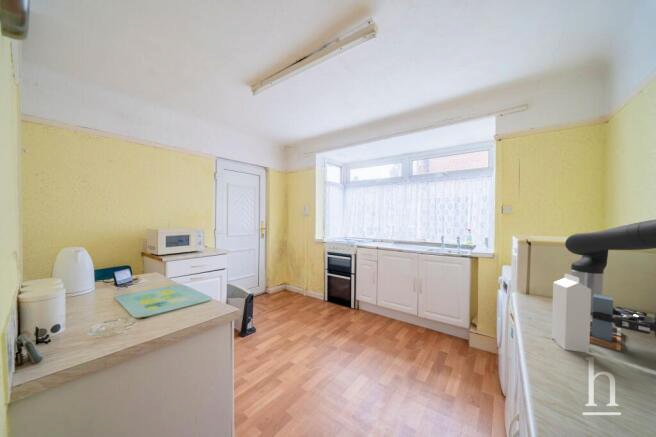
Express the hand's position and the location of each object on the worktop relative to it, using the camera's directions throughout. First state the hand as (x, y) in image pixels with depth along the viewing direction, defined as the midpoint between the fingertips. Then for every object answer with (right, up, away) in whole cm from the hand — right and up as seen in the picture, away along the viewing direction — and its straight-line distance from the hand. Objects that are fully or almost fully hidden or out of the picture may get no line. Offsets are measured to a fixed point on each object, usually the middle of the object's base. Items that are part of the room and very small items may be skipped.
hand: (593, 311), depth 75 cm
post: (+1, -9, -1) cm, 9 cm away
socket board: (+5, -10, +2) cm, 11 cm away
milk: (-10, -10, -2) cm, 15 cm away
